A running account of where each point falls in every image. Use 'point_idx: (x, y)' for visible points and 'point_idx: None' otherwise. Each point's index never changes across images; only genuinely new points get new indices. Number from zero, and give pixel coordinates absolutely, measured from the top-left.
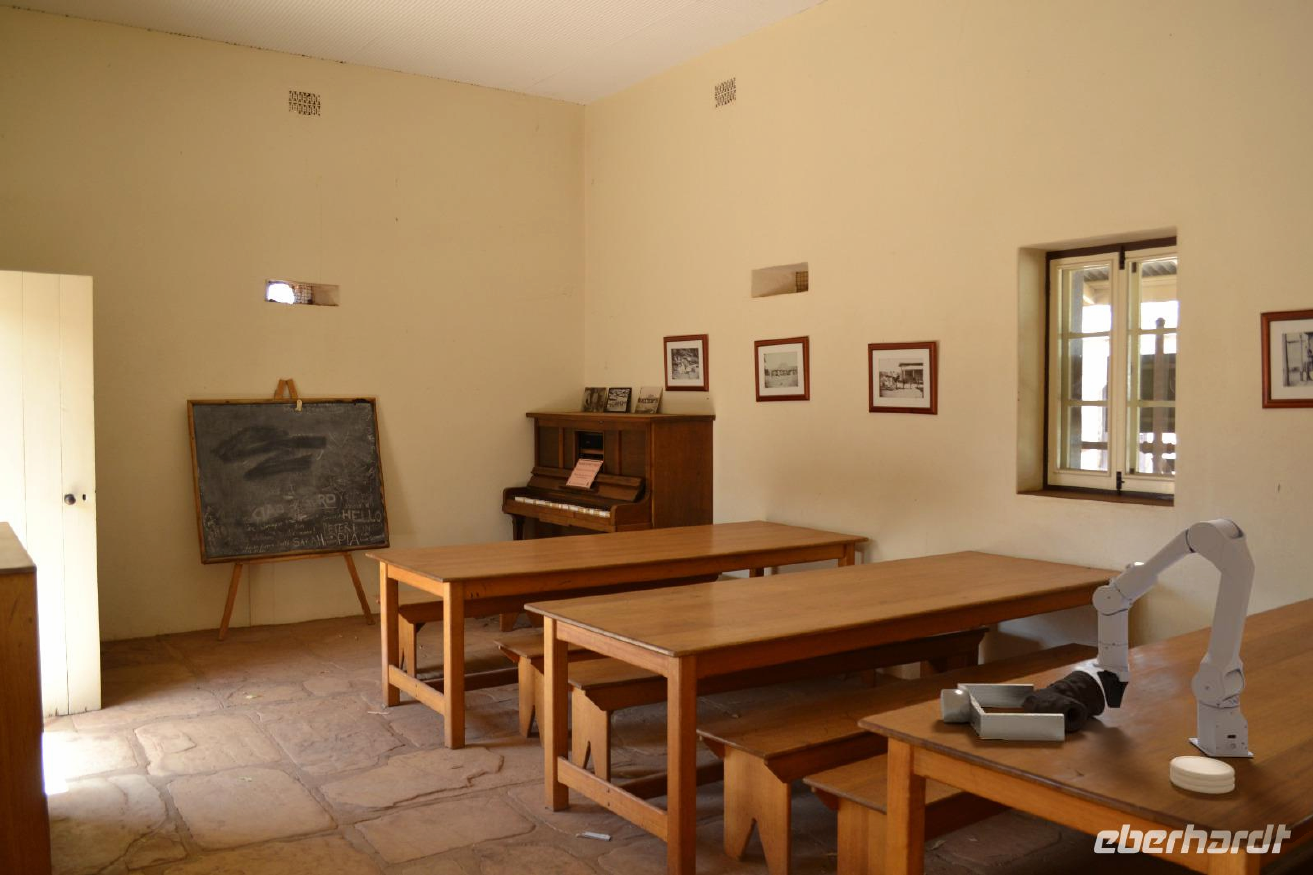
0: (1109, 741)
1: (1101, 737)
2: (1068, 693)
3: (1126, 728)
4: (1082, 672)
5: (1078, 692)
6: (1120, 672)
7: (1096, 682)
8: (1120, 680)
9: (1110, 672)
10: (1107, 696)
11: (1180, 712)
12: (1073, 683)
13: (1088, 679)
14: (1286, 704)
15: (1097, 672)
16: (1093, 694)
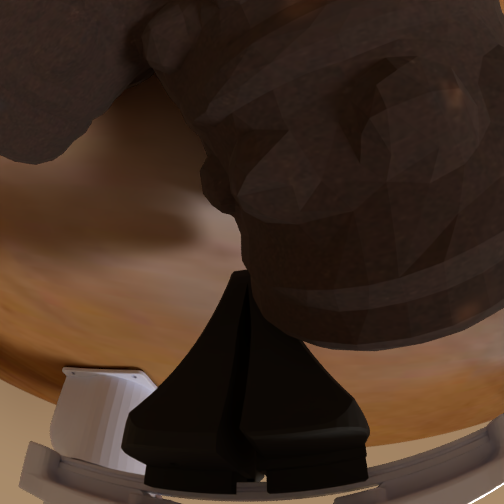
0: (28, 204)
1: (51, 180)
2: (169, 25)
3: (198, 270)
4: (498, 284)
5: (210, 123)
6: (19, 486)
7: (297, 336)
8: (30, 446)
9: (213, 485)
10: (219, 312)
11: (382, 378)
12: (338, 94)
13: (345, 298)
14: (395, 438)
15: (318, 434)
16: (243, 241)
